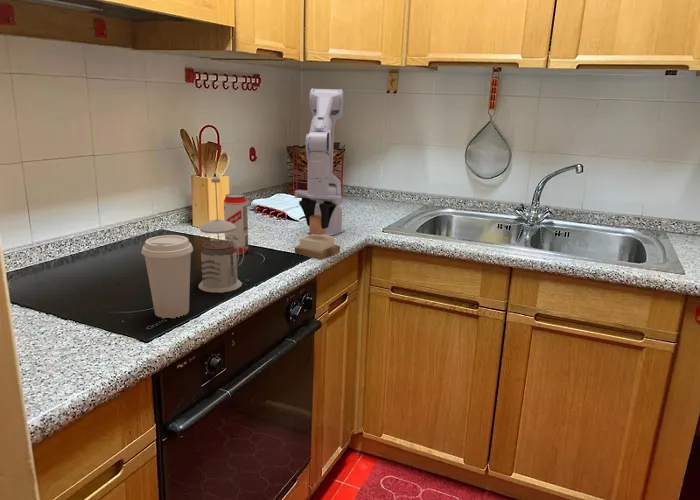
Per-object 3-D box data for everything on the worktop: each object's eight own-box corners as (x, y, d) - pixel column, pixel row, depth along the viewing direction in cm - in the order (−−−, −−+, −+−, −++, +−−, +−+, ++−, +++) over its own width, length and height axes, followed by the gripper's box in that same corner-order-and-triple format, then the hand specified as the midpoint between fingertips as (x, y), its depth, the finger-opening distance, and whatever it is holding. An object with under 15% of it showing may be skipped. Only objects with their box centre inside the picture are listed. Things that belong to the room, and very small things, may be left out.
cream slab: (313, 241, 153) (313, 233, 153) (334, 245, 150) (334, 237, 150) (299, 247, 148) (299, 238, 147) (321, 251, 144) (321, 242, 144)
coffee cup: (136, 316, 105) (129, 242, 101) (170, 300, 114) (165, 231, 109) (174, 325, 102) (169, 249, 97) (206, 308, 110) (203, 237, 106)
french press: (219, 275, 130) (215, 172, 123) (256, 284, 124) (254, 177, 117) (188, 286, 122) (182, 177, 114) (227, 297, 116) (222, 182, 109)
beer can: (243, 256, 145) (241, 198, 140) (221, 254, 146) (219, 196, 141) (252, 250, 150) (250, 193, 146) (231, 248, 152) (229, 192, 147)
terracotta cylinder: (315, 229, 151) (315, 214, 149) (328, 232, 148) (328, 216, 147) (306, 232, 147) (306, 216, 146) (319, 235, 145) (319, 219, 144)
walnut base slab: (313, 248, 156) (314, 240, 155) (339, 254, 151) (339, 245, 150) (294, 255, 148) (294, 247, 148) (321, 262, 144) (321, 253, 143)
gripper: (287, 176, 144) (287, 225, 148) (332, 182, 136) (331, 233, 140) (303, 173, 150) (303, 220, 153) (347, 179, 142) (345, 228, 146)
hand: (317, 226), depth 147 cm, fingers closed on terracotta cylinder, 4 cm apart
